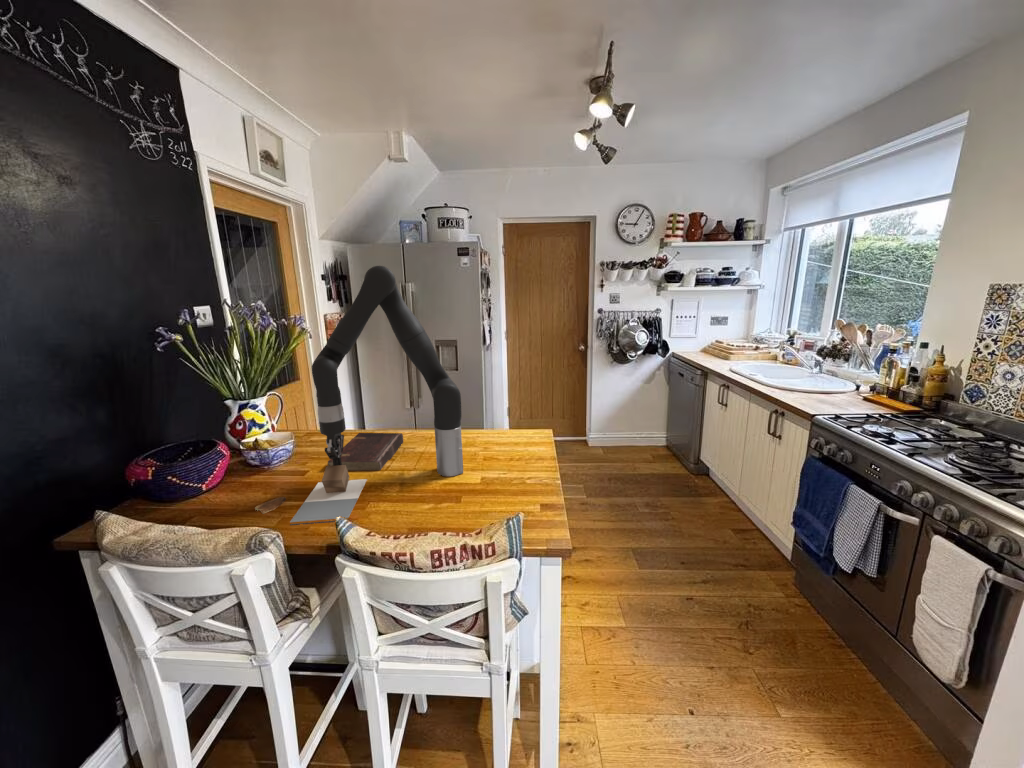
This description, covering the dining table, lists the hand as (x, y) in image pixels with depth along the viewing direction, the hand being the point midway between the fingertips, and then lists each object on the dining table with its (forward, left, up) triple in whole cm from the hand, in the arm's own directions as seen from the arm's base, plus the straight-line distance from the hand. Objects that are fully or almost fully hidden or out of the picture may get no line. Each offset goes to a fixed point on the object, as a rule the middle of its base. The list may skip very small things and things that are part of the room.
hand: (337, 467), depth 134 cm
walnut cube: (0, +2, -5) cm, 6 cm away
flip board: (0, +9, -7) cm, 11 cm away
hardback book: (-4, -25, -8) cm, 27 cm away
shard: (+18, +9, -8) cm, 22 cm away
